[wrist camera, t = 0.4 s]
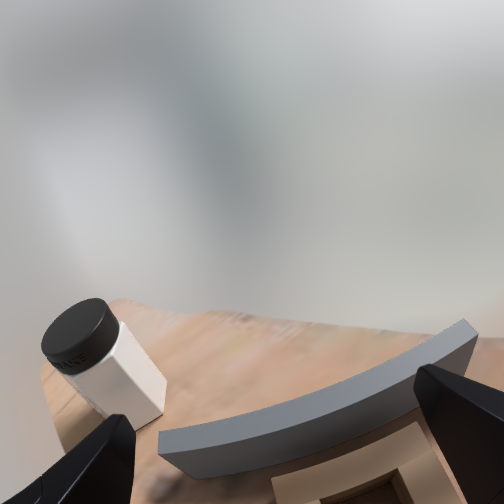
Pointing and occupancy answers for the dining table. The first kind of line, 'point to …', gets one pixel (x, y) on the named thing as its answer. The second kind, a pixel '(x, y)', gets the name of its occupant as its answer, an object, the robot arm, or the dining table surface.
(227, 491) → the dining table surface
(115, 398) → the jar
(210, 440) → the bar
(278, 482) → the block
